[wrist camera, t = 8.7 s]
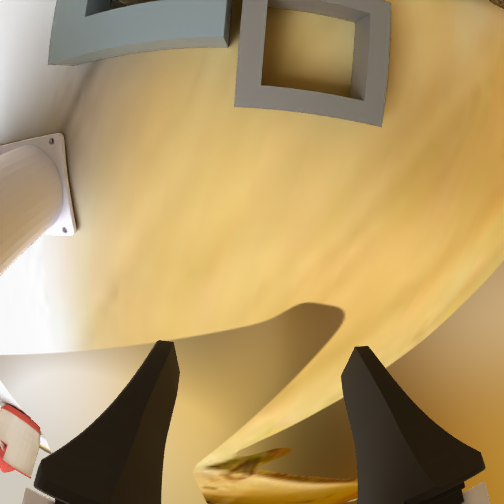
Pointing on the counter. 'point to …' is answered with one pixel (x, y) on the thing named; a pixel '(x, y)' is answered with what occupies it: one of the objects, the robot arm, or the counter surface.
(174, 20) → the socket block
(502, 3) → the cup
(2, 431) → the citrus juicer
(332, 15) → the pin mount
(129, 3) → the steel pin
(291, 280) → the counter surface
